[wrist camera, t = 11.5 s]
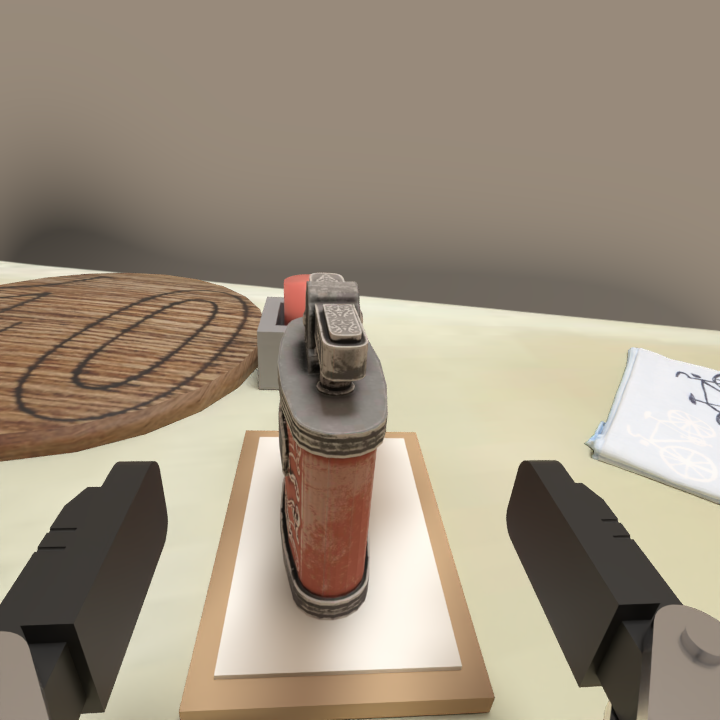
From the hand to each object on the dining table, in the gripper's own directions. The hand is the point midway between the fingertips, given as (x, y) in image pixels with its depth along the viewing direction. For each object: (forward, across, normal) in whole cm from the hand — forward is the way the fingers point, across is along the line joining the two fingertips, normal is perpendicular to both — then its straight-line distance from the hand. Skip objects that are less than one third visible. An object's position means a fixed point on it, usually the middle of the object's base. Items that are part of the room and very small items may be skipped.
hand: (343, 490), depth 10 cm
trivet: (+23, +17, +9) cm, 30 cm away
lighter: (+6, 0, +7) cm, 9 cm away
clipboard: (+6, 0, +8) cm, 10 cm away
